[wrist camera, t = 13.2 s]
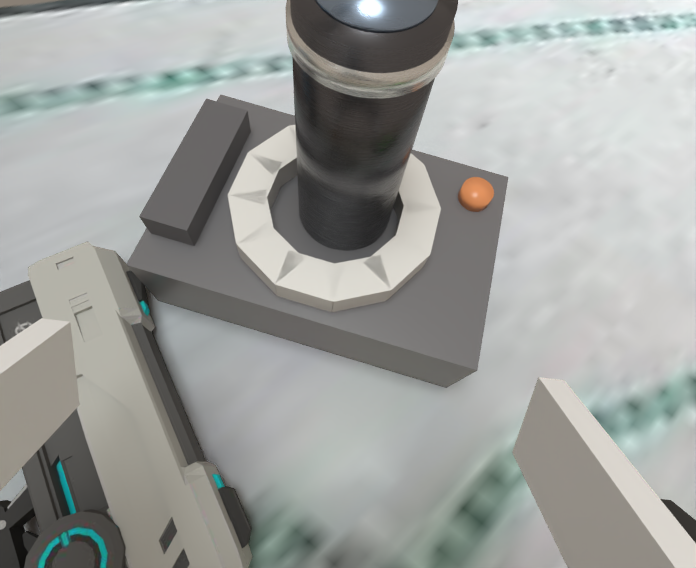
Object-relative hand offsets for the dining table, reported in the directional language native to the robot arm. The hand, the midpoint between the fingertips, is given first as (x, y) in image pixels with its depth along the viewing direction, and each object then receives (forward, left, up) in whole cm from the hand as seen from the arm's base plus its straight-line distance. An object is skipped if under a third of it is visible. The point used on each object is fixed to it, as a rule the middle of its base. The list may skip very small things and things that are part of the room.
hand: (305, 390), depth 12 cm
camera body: (-2, +10, -13) cm, 16 cm away
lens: (-1, +11, -8) cm, 13 cm away
